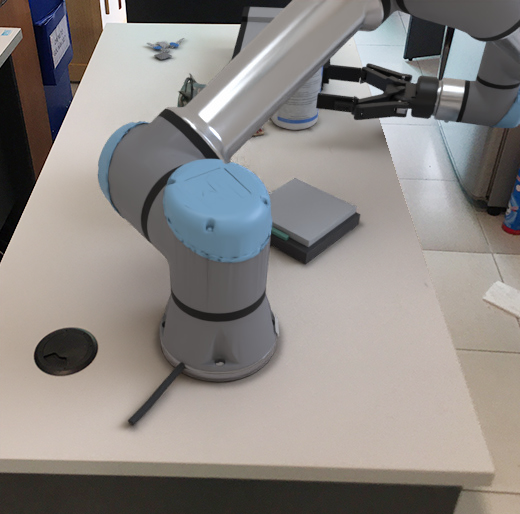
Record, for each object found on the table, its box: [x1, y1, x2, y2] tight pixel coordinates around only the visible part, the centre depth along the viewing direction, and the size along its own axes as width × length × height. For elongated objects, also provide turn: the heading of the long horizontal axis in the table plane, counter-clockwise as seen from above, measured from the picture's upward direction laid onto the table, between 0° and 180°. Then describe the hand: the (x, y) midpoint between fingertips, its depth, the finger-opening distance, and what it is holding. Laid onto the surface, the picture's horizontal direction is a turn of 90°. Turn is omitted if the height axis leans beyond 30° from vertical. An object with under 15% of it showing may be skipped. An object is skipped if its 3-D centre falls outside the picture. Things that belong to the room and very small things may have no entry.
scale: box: [269, 177, 361, 265], centre depth 100 cm, size 14×14×3 cm
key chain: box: [146, 37, 185, 60], centre depth 155 cm, size 14×8×1 cm, turn 167°
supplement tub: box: [270, 66, 323, 131], centre depth 123 cm, size 10×10×15 cm
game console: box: [230, 6, 331, 91], centre depth 144 cm, size 21×32×8 cm, turn 173°
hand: (322, 85), depth 121 cm, fingers open, 13 cm apart
